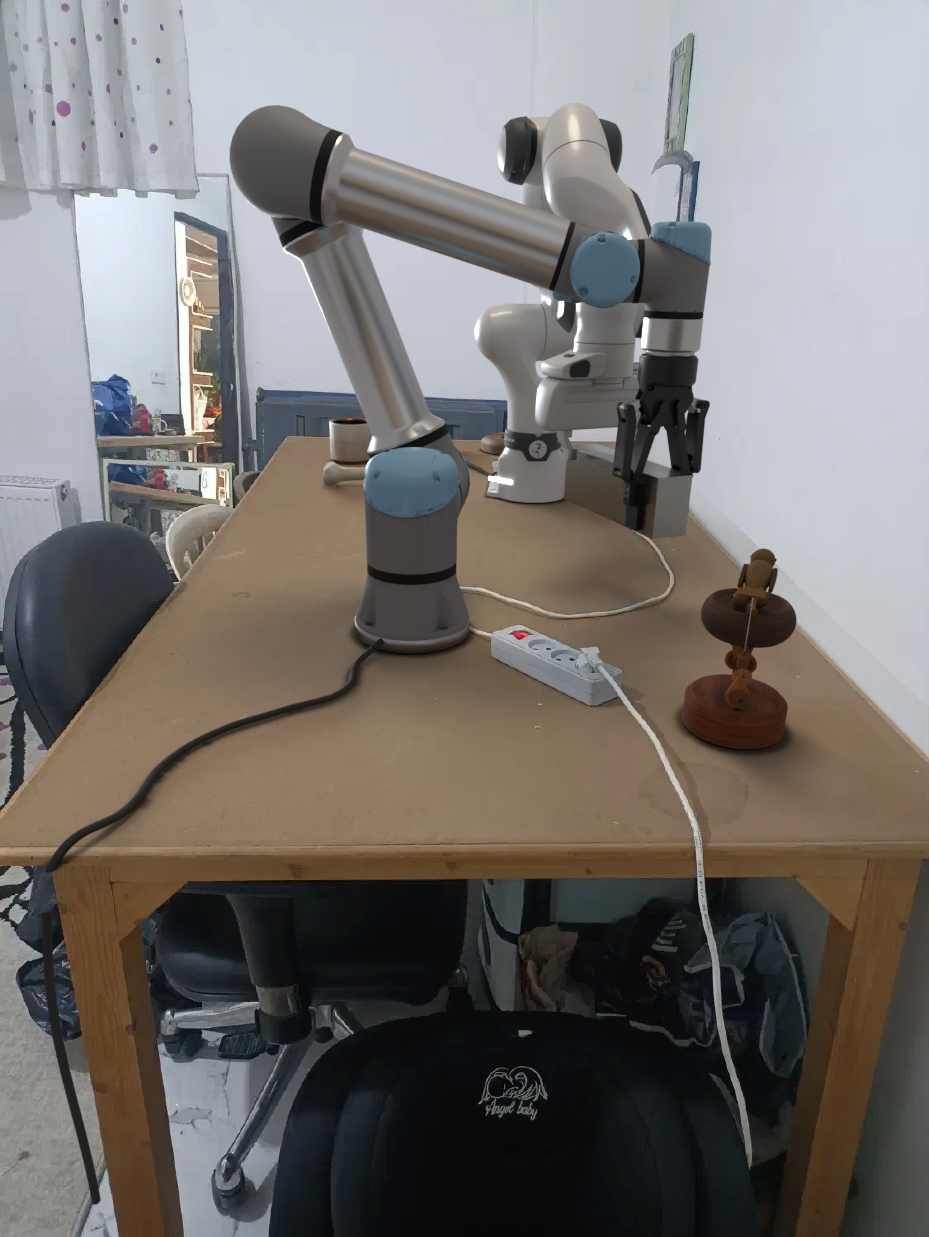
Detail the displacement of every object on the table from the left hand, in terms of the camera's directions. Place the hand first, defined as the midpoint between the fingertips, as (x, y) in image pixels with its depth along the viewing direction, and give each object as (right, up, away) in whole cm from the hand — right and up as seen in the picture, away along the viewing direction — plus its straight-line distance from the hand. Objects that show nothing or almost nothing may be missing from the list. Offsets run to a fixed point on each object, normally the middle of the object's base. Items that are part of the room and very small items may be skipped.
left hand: (651, 525), depth 118 cm
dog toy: (-48, +17, +71) cm, 88 cm away
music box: (+3, -24, -27) cm, 36 cm away
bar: (-3, +2, +7) cm, 8 cm away
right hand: (-6, +11, +10) cm, 16 cm away
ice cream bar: (-11, +30, +105) cm, 110 cm away
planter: (-55, +27, +96) cm, 114 cm away
